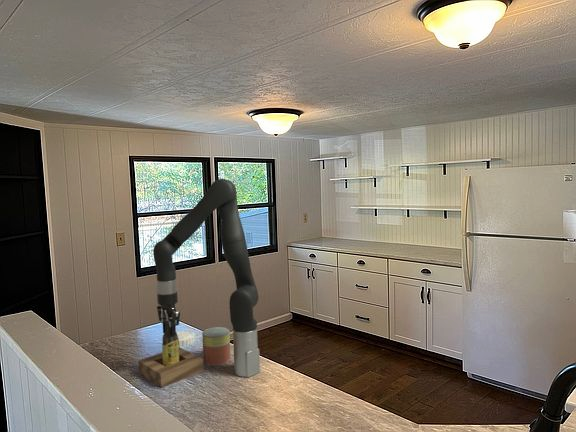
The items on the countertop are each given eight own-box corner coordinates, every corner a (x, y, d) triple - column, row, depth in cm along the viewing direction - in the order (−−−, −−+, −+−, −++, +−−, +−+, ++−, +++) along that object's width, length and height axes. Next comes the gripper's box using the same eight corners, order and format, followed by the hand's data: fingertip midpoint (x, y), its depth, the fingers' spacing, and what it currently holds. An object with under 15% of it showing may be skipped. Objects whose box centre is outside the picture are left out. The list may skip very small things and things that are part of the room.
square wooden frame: (203, 371, 167) (203, 358, 167) (161, 387, 155) (160, 374, 154) (179, 358, 180) (178, 346, 180) (138, 372, 168) (137, 360, 167)
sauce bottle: (169, 374, 163) (166, 323, 161) (159, 370, 166) (156, 320, 165) (183, 368, 168) (180, 318, 166) (173, 364, 172) (170, 315, 170)
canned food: (233, 354, 183) (232, 327, 182) (227, 365, 172) (225, 336, 171) (207, 354, 184) (206, 326, 183) (199, 365, 173) (198, 336, 172)
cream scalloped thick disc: (200, 340, 201) (200, 332, 201) (181, 349, 191) (181, 341, 191) (182, 335, 208) (182, 328, 207) (163, 344, 197) (162, 336, 197)
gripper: (185, 292, 162) (187, 336, 164) (166, 286, 173) (168, 327, 174) (167, 296, 157) (170, 341, 159) (149, 290, 167) (151, 332, 169)
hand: (169, 334), depth 166 cm, fingers closed on sauce bottle, 4 cm apart
